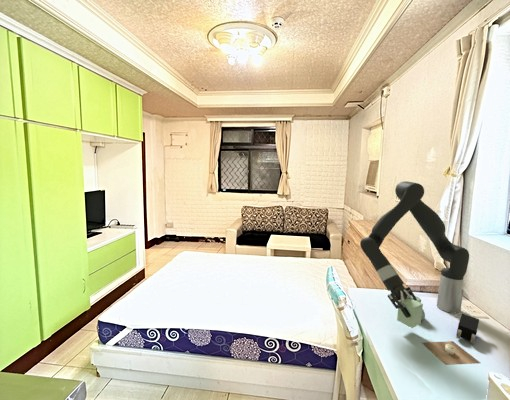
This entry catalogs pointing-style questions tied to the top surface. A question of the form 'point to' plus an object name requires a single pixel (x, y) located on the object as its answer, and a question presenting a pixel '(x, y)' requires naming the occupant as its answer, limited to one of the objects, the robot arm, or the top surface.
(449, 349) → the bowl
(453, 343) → the walnut board
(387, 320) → the top surface
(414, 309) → the light green rectangular block
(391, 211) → the robot arm
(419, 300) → the air freshener
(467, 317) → the figurine character
